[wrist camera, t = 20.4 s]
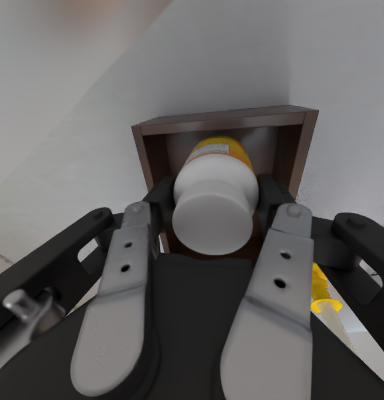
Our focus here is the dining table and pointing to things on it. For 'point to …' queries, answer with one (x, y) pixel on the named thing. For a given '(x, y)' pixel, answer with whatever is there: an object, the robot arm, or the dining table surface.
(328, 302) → the candle
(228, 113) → the chest
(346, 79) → the dining table surface
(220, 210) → the supplement bottle
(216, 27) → the dining table surface
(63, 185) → the dining table surface
